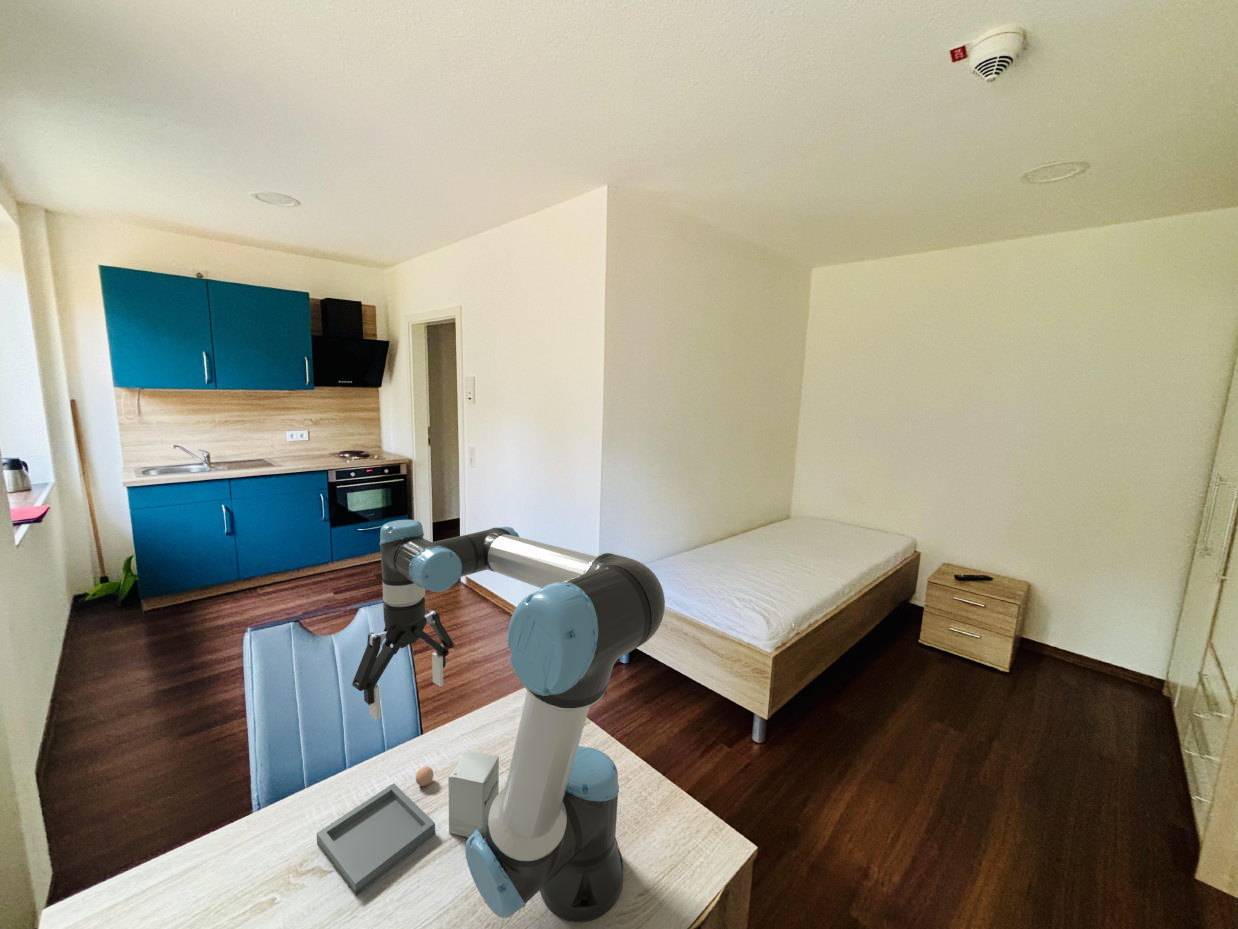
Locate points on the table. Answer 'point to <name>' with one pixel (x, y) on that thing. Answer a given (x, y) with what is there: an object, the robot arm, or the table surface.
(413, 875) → the table surface
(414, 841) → the tray
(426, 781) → the mixing ball
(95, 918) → the table surface
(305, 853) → the table surface
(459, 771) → the supplement box
